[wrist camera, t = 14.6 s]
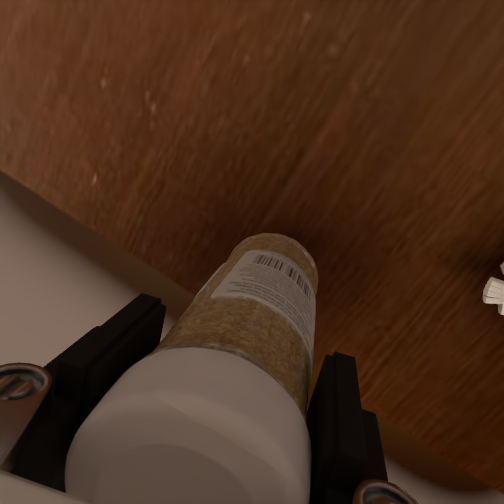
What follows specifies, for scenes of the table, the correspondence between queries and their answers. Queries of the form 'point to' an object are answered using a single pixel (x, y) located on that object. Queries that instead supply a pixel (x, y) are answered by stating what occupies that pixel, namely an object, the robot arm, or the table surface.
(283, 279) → the sprinkles bottle
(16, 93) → the table surface
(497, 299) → the figurine
